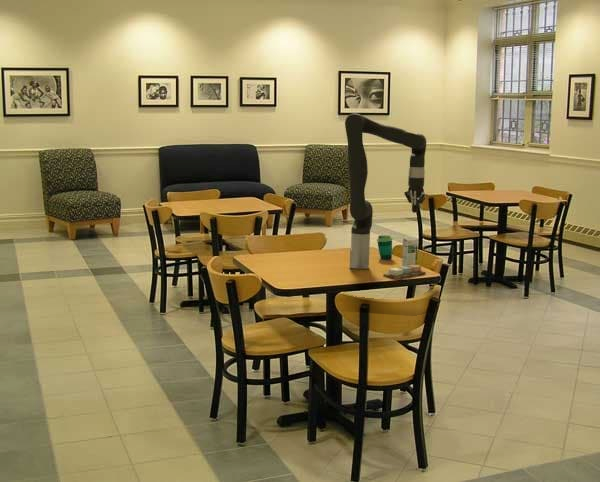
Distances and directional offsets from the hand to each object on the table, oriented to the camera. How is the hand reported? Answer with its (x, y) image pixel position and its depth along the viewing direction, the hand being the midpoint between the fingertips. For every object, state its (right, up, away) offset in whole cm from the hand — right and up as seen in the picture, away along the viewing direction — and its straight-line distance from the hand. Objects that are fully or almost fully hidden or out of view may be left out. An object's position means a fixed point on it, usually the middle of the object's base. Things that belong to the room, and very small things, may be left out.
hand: (414, 212), depth 386 cm
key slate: (-5, -30, -4) cm, 31 cm away
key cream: (-10, -31, -8) cm, 33 cm away
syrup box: (-1, -27, +16) cm, 31 cm away
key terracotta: (-1, -29, 0) cm, 29 cm away
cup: (-11, -23, +34) cm, 43 cm away
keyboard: (-5, -30, -4) cm, 31 cm away
